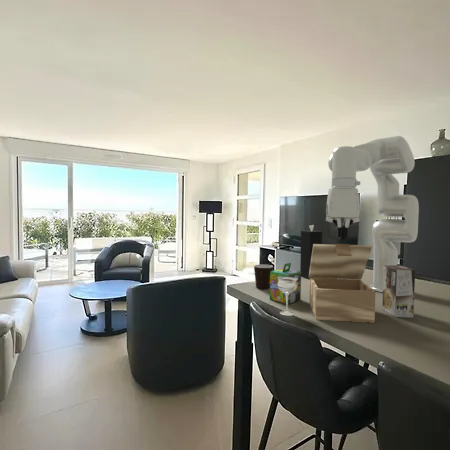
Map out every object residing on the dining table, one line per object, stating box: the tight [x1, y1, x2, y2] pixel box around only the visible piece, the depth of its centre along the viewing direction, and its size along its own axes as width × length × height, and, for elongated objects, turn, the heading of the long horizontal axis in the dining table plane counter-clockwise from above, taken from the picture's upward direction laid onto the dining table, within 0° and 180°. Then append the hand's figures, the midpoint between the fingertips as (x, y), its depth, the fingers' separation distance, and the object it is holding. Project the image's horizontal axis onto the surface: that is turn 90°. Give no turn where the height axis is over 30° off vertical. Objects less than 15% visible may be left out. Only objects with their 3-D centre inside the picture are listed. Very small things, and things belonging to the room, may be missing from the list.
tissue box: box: [299, 224, 323, 280], centre depth 161 cm, size 8×8×28 cm
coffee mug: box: [253, 263, 274, 291], centre depth 138 cm, size 12×9×10 cm
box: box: [309, 278, 376, 324], centre depth 106 cm, size 17×18×10 cm
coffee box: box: [382, 264, 416, 319], centre depth 105 cm, size 9×6×16 cm
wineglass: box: [277, 277, 297, 317], centre depth 104 cm, size 7×7×12 cm
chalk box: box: [269, 262, 302, 305], centre depth 120 cm, size 9×9×15 cm
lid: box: [309, 243, 373, 280], centre depth 107 cm, size 18×19×5 cm
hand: (342, 239), depth 102 cm, fingers closed
